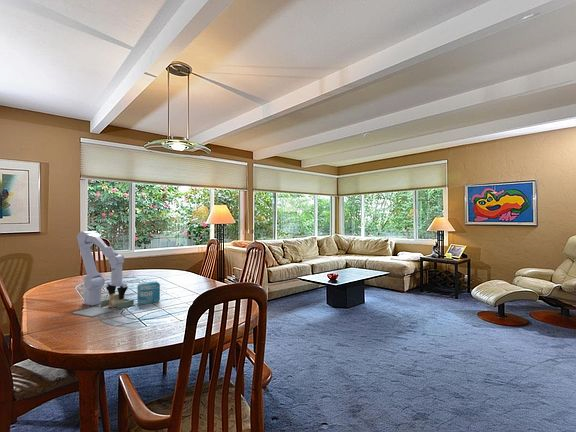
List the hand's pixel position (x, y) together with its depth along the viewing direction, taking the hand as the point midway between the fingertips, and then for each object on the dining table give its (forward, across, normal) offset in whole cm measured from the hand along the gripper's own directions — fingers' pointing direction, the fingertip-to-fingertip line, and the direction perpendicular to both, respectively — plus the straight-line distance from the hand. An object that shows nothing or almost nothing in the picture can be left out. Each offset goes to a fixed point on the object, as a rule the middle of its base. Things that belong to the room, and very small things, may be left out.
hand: (116, 298), depth 185 cm
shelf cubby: (+4, 0, 0) cm, 4 cm away
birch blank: (+4, 0, 0) cm, 4 cm away
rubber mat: (+4, 0, -14) cm, 15 cm away
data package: (+4, +12, +12) cm, 18 cm away
